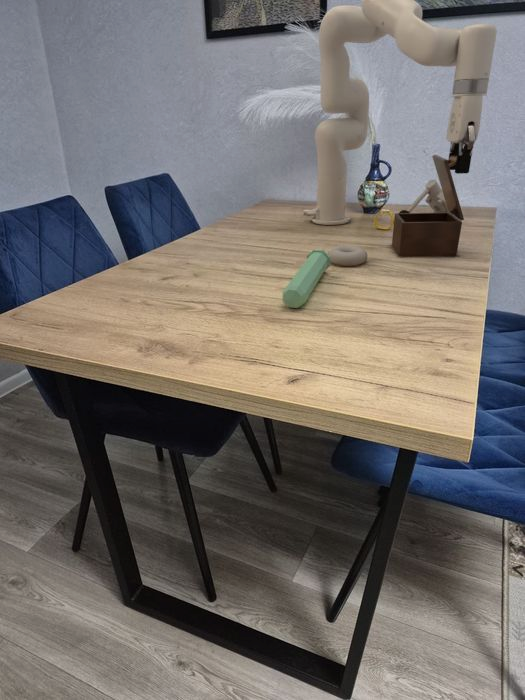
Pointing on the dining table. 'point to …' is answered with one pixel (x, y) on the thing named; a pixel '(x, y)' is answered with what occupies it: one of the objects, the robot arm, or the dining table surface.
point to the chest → (426, 234)
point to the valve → (431, 198)
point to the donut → (347, 255)
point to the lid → (448, 184)
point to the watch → (384, 212)
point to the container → (306, 278)
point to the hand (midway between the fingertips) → (457, 170)
